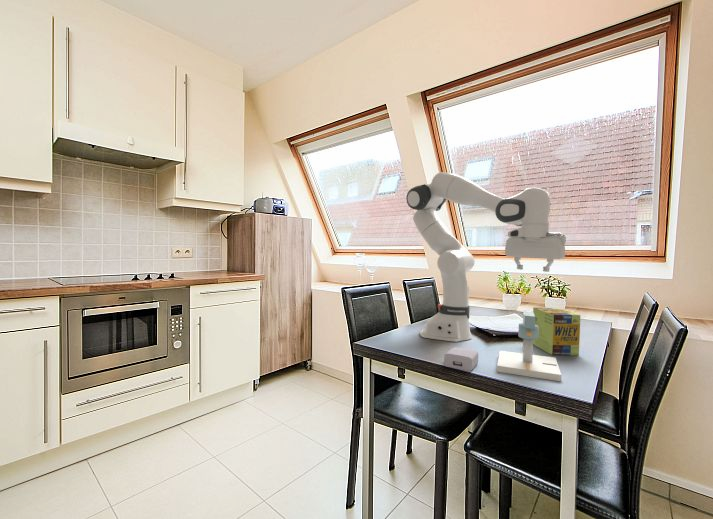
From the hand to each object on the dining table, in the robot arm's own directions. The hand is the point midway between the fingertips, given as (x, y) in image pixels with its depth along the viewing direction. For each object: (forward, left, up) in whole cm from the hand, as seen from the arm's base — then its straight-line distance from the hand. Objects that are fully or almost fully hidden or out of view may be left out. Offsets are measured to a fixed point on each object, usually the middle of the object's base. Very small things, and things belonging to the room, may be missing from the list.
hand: (532, 270), depth 126 cm
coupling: (-3, -13, -22) cm, 25 cm away
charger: (-24, -14, -33) cm, 43 cm away
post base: (-3, -13, -32) cm, 35 cm away
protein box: (+12, +13, -32) cm, 37 cm away
